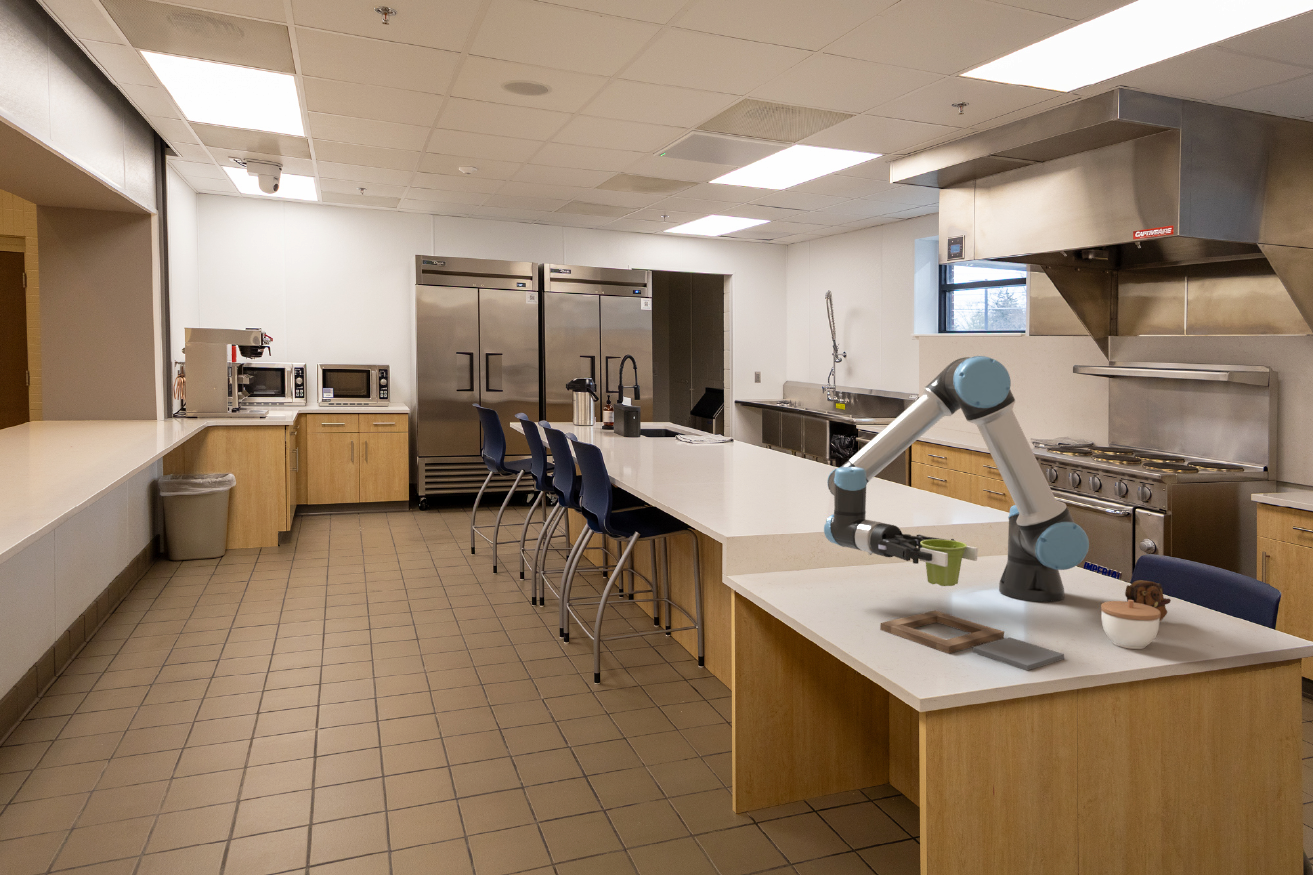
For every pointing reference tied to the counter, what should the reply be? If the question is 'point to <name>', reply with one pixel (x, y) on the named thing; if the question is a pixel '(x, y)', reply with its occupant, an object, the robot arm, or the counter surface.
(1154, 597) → the wooden carving
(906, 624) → the walnut frame
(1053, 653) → the charcoal mat
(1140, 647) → the lidded jar
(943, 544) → the plant pot
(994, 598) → the counter surface
